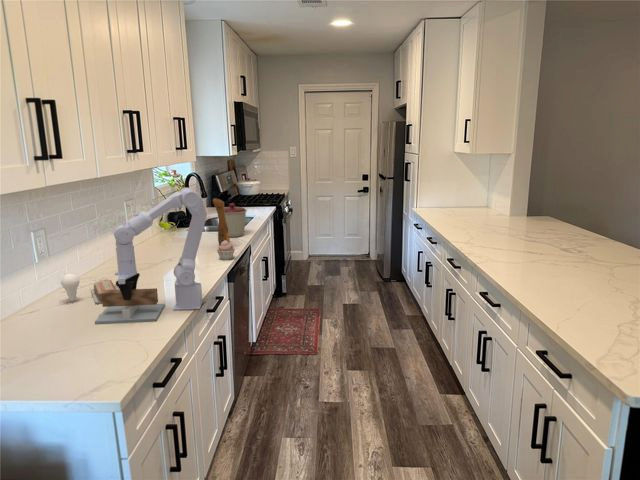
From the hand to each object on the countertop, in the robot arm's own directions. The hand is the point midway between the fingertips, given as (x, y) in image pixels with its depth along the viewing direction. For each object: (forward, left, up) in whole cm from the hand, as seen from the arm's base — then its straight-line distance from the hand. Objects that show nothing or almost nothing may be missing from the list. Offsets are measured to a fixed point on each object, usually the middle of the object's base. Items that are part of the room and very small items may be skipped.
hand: (129, 296), depth 154 cm
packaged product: (+15, -22, -7) cm, 28 cm away
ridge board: (0, 0, -7) cm, 7 cm away
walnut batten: (0, 0, -3) cm, 3 cm away
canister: (-28, -124, -7) cm, 127 cm away
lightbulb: (+26, -16, -7) cm, 31 cm away
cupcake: (-28, -70, -7) cm, 76 cm away
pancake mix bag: (-24, -95, -7) cm, 98 cm away
